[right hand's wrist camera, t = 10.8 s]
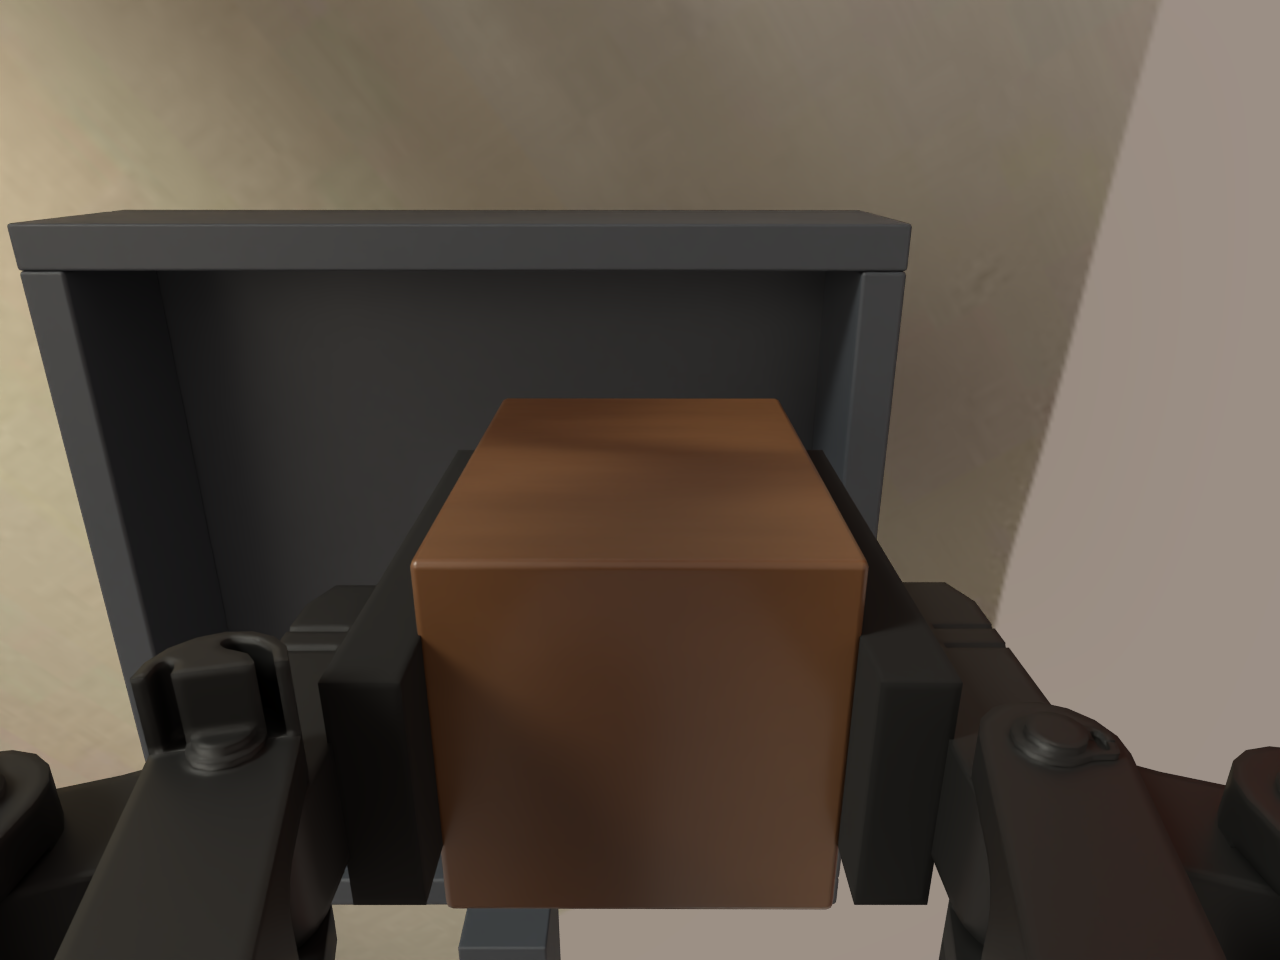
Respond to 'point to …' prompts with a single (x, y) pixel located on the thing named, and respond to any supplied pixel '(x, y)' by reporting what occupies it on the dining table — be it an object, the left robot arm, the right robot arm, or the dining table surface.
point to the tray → (411, 384)
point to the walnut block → (640, 659)
